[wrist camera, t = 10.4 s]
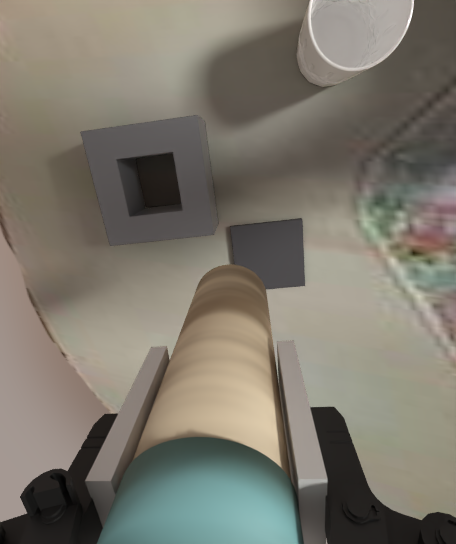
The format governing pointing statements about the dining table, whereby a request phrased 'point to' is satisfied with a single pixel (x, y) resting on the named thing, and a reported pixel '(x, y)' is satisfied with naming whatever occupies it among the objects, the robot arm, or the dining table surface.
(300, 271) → the mat
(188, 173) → the socket
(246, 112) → the dining table surface
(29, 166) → the dining table surface
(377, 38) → the white cup
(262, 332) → the plug
